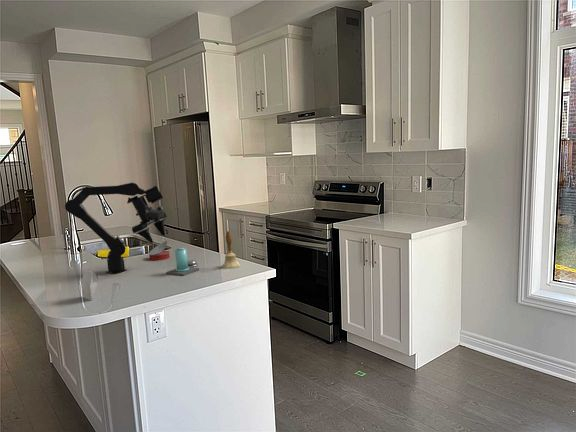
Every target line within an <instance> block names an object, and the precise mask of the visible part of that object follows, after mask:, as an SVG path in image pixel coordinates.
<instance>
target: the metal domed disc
mask: <svg viewBox="0 0 576 432" xmlns="http://www.w3.org/2000/svg"><path fill="white" fill-rule="evenodd" d="M187 262H188V267H192V268H197V267H198V266H199V263H197V260H195V259H192V260H191V259H189V260H187Z"/></svg>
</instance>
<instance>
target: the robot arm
mask: <svg viewBox="0 0 576 432" xmlns="http://www.w3.org/2000/svg"><path fill="white" fill-rule="evenodd" d="M100 195H102V196H103V195H104V196H105V195H123V196H131V197H128V198H127V204H130V203H131V204H132V205H133V207H134V210H135V211H136V213H135V215H136V216H138V218H139V220H140V222H139V223H138V224H135V225H134V226H132V228H131V231H132V233H133V234H136V235H139V236H140V237H142V238H144V239H145V240H146V241H148V242H149V243H150V244H153V243H154V240H153V238H152V236H151V234H150V232H149V231H150V227H148V226H149V225H151V224H153V226H154V227H155V228H156V229H157V231H158V232H159V234H160V235H162V236H165V235H166V232H165V224H164V223H165V221H166V219H167V214H166V211H165V208H164V207H163V206H161V205H160V206H158V207H157V208H155V209H154V208H153V207H152V206H149V204H148V203H151V204H155V203H157V202H159V201H161V200H163V199H164V197H163V195H162V193H161V191H160V190H159V188H158V186H157V185H154V186H151V188H148V189H146V190H145V189H143V188H141V187H139V185H138V184H137V183H136V182H133V181H132V182H131V181H130V182H128V183H123V184H122V183H121V184H118V185H101V186H85V187H83V188H82V190H80V192H79V193H77V194H76V196H75V197H74V198H70V199H69V200H67V201H66V202H65V204H64V209H65V210H66V212H68V213H69V214H71V215H72V216H74V217H75V218H78V219H80V220H81V221H82V222H83V223H84V224H86V226H87V227H88V228H89V229H90V230H92V231H93V232H94V233H95V234H96V235H97V236H98V237H99V238H100V239H101V240H103V241H104V242H105V244H106V245H107V248H108V249H109V251H108V253H107V256H106V257H107V258H106V262H107V264H106V265H107V270H106V271H105V273H106V274H107V273H108V274H114V275H115V274H119V273H122V272H125V271H128V270H127V268H125V267H126V266H125V259H124V257H123V255H124V254H125V253H126V248H127V247H126V246H127V245H126V243H125V240H123V239H121V237H120V236H119V235H118V234H117V236H116V237H115V236H114V235H112V234H111V233H110V232H109V231H108V230H107V229H106V228H105V227H103V225H102V224H100V222H98V221H97V220H96V219H95V218H93V217H92V215H91V214H90V213H89V212H88V211H87V209H86V207H85V206H84V205H83V203H84V202H85V201H86V200H87V198H89V196H100ZM138 195H140V196H138Z"/></svg>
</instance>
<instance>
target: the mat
mask: <svg viewBox="0 0 576 432" xmlns="http://www.w3.org/2000/svg"><path fill="white" fill-rule="evenodd" d="M176 269H177V267H176V268H173V269H171V270H168V271H166V272H165V274H166V275H171V276H182V277H184V276H188V275H190V274H193V273H195V272H198V271H200V267H189V270H187V271H183V272H177V271H176Z"/></svg>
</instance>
